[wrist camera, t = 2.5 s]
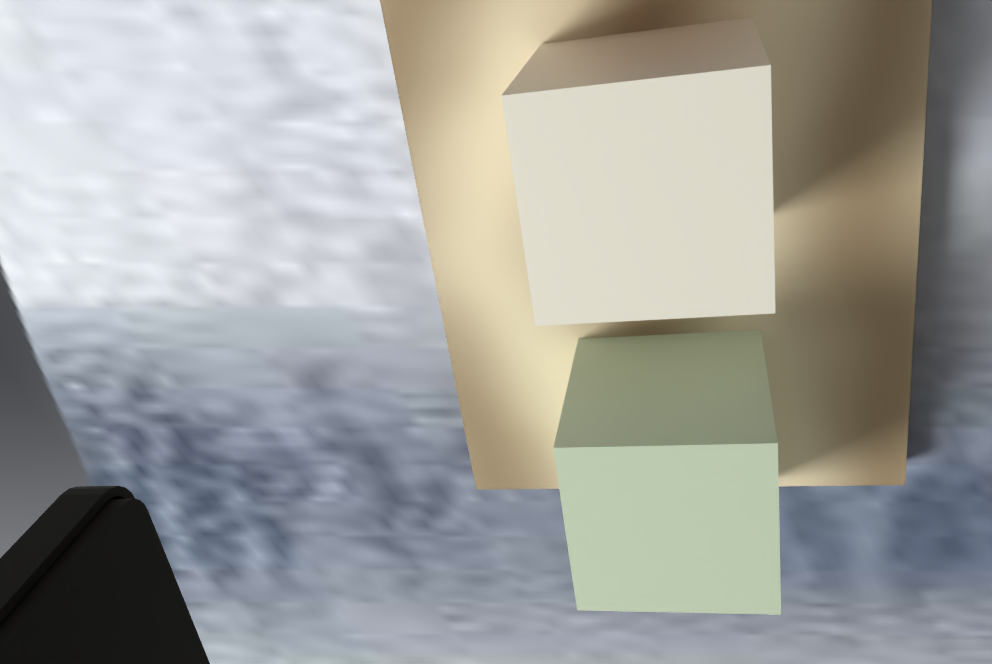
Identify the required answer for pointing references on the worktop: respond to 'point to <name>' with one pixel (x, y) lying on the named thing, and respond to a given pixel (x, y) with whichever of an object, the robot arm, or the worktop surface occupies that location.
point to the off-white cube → (646, 174)
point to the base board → (796, 203)
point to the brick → (671, 474)
